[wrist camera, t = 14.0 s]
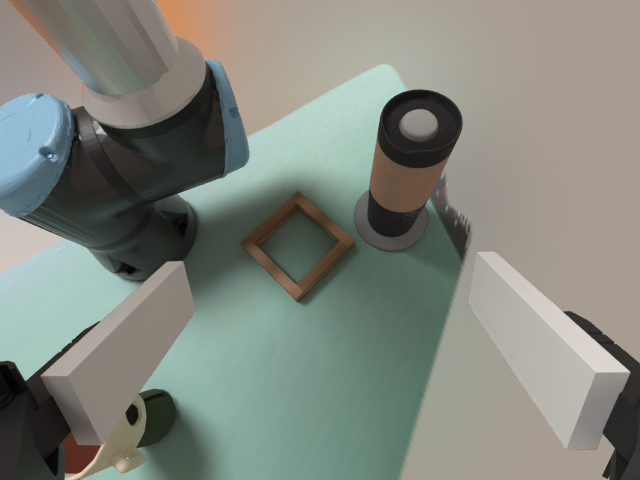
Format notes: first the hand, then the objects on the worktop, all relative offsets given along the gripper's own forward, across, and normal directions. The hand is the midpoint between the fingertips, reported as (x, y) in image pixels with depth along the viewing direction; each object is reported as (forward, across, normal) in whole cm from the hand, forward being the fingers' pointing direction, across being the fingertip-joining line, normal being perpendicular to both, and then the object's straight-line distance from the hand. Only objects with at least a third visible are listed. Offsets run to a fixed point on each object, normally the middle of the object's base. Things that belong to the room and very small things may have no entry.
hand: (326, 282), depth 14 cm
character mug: (+14, -24, -28) cm, 39 cm away
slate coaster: (+33, +8, -9) cm, 35 cm away
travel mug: (+33, +8, -8) cm, 35 cm away
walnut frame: (+30, -6, -12) cm, 33 cm away
